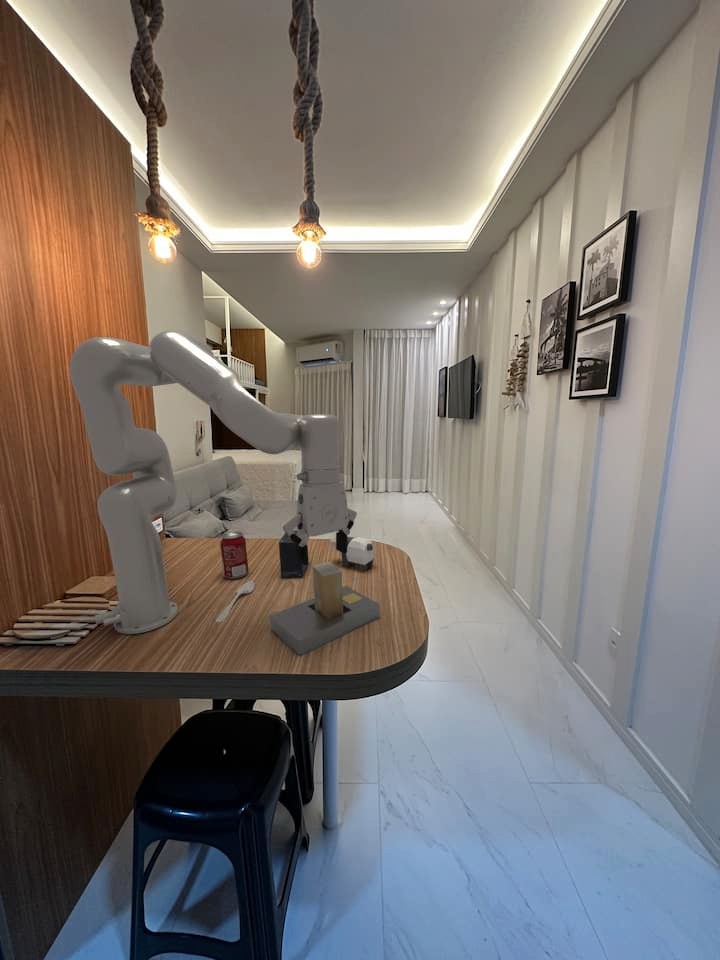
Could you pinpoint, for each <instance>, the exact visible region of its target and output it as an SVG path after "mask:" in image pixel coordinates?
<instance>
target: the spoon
mask: <svg viewBox="0 0 720 960" xmlns="http://www.w3.org/2000/svg"><path fill="white" fill-rule="evenodd" d="M254 589H255V583H254V582H253V581H252V580H249V581H247V582H245V583H243V584H242V585H241V586H240V587H238V589H237V590H236V592H235V593H236V594H235V596H234V598H233V599H232V600H231V601H230V603H229V604H228V605H227V606H226V607H225V608H224V609H223V610H222V612H221V613H220V614H219V615H218V617H217V618H216V620H215V622H216V623H220V622H222V621H224V620H225V619H226V618H227V617H228V615H229V613H230V611H231V610H232V608H233V606H234V603H235V602H236V601H237V599H238V598H239V596H241V595H242V594H243V595H244V594H250V593H253V591H254ZM246 590H247V591H246ZM244 591H246V592H244Z"/></svg>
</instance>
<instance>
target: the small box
mask: <svg viewBox="0 0 720 960" xmlns="http://www.w3.org/2000/svg"><path fill="white" fill-rule="evenodd" d="M293 531H294V533H295V535H296V534H297V532H298V531H299V530H293ZM305 545H306V546H308V541H307V542H306V544H305ZM308 547H309V546H308ZM278 551H279V562H280V563H279V566H280V578H281V579H287V578H288V579H289V578H293V579H295V578H298V579H299V578H303V577H304V575H305V572H306V570H307V567H308V565H303V564H302V563H300V562H298V560H297V558H296V544H295V543H294V542H293V541H291V540H290V539H289V538H288V537H287V535H286V533H285V532H284V534H283V536H282V537H281V538H280V539H279V541H278Z"/></svg>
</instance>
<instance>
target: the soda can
mask: <svg viewBox="0 0 720 960" xmlns="http://www.w3.org/2000/svg"><path fill="white" fill-rule="evenodd" d="M246 540H247V539H246V538H245V536H244V535H243V532H241V531H230V532H226V533H223V534H222V535H221V540H220V542H219V546H220V555H221V565H222V574H223V577H224V578H226V579H230V580H236V579H241V578H243V577H244V576H246V575H247V574H248V573H249V562H248V553H247V552H248V551H247V543H246Z"/></svg>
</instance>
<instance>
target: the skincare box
mask: <svg viewBox="0 0 720 960" xmlns="http://www.w3.org/2000/svg"><path fill="white" fill-rule="evenodd" d="M342 573H343V572H342V570H340V569H339V567H338V566H337V565H335V564H333V562H331V561H327V562H323V563H318V564H315V565H312V575H313V577H312V578H313V594H314V595H313V596H314V598H315V612H317V613H318V614H320V615H321V616H322V617H324V618H325V619H327V620H328V621H329V620H331V619H333V618H336V617H338V616H340V615H342V614H343V596H342V587H343V578H342V577H343V575H342ZM314 598H313V599H314Z"/></svg>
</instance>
